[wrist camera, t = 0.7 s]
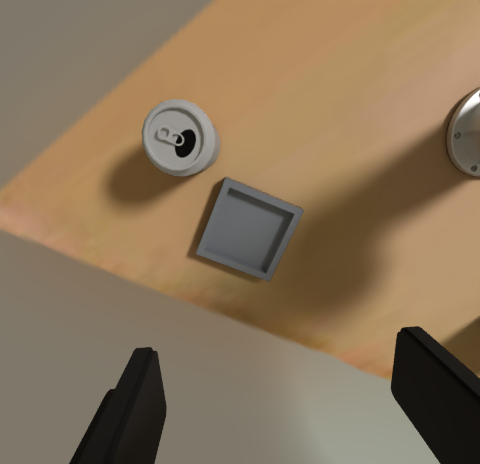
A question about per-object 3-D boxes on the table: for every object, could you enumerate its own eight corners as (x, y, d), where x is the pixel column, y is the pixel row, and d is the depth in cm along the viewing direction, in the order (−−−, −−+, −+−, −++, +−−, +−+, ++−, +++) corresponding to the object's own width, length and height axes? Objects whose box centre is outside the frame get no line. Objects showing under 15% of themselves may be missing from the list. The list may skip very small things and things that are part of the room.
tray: (226, 176, 38) (225, 177, 36) (300, 207, 39) (304, 210, 37) (197, 249, 41) (195, 253, 39) (267, 275, 42) (269, 281, 40)
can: (205, 181, 38) (192, 191, 26) (158, 155, 37) (123, 153, 25) (230, 133, 36) (227, 122, 25) (181, 104, 35) (155, 78, 24)
